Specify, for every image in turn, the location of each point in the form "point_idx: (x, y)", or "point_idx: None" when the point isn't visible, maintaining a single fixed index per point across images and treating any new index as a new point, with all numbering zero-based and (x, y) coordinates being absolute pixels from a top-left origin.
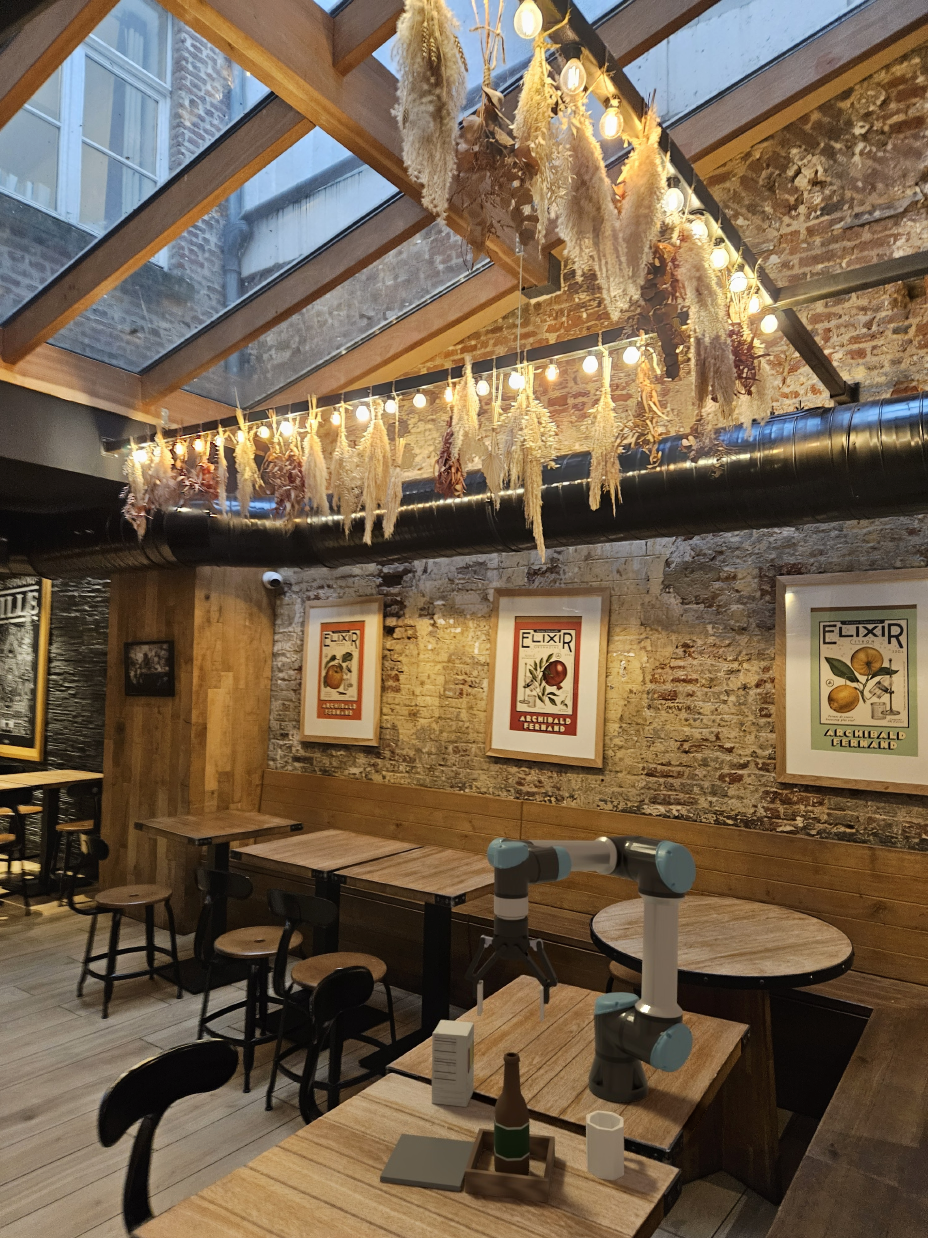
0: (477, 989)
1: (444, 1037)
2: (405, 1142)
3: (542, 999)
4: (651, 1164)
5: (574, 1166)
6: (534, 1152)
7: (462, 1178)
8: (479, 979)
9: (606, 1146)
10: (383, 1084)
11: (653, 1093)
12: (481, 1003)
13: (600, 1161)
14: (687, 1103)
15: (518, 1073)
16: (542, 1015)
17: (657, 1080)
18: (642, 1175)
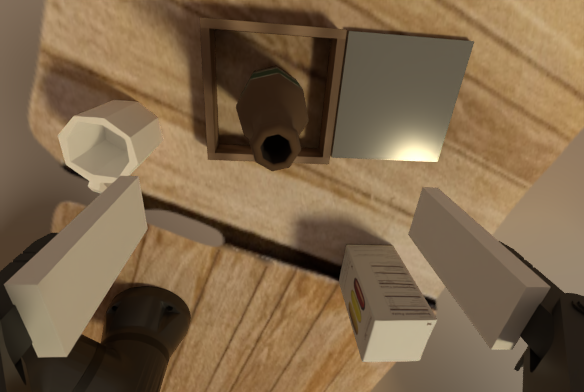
0: (524, 265)
1: (413, 315)
2: (432, 140)
3: (61, 237)
4: None
5: (180, 128)
6: (241, 146)
7: (346, 54)
8: (570, 322)
9: (101, 110)
10: None
11: (102, 313)
12: (440, 233)
13: (124, 106)
14: None
15: (255, 128)
16: (110, 188)
17: None
18: None
